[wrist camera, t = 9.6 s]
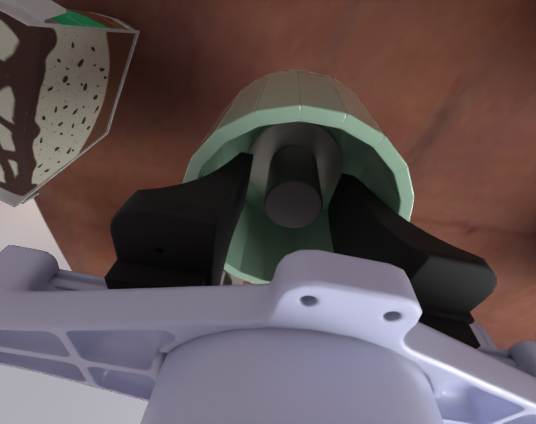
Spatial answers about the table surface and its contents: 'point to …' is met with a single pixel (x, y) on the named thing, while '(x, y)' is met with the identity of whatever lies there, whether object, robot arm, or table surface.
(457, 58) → the table surface
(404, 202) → the cup
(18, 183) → the food container
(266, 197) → the lid
